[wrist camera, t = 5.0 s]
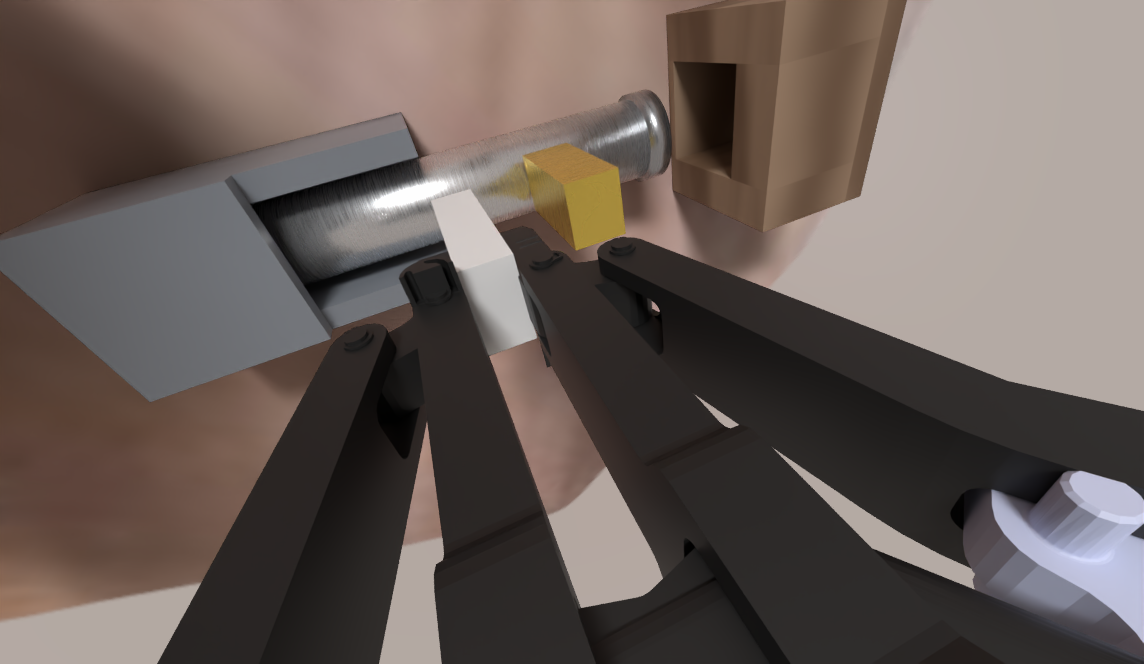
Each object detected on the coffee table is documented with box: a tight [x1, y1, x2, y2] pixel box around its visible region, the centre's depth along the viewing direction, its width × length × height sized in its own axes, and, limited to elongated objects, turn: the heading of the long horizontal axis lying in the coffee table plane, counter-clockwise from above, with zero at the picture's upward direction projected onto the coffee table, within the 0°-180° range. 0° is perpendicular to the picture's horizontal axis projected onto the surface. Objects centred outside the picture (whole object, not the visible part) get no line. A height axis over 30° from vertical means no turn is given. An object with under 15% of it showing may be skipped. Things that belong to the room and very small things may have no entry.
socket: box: [667, 0, 907, 232], centre depth 21 cm, size 6×9×8 cm, turn 11°
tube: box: [251, 90, 672, 285], centre depth 17 cm, size 22×4×9 cm, turn 101°
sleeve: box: [0, 112, 448, 402], centre depth 18 cm, size 13×7×6 cm, turn 101°
